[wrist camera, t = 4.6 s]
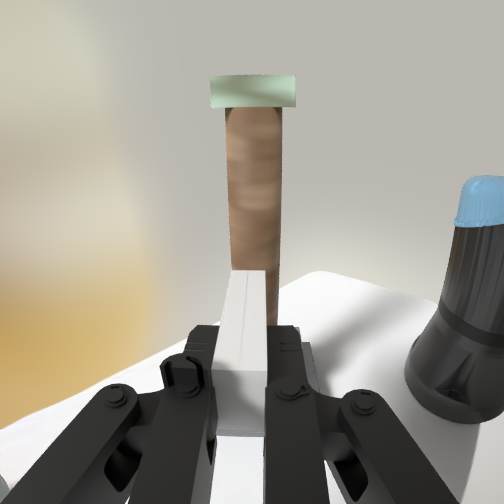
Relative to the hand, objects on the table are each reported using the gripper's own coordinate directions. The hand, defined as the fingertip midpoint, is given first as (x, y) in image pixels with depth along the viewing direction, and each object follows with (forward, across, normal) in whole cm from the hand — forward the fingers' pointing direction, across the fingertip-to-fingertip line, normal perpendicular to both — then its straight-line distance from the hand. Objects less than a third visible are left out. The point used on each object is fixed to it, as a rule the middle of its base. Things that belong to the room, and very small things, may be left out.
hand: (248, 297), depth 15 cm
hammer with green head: (+11, 0, -15) cm, 18 cm away
